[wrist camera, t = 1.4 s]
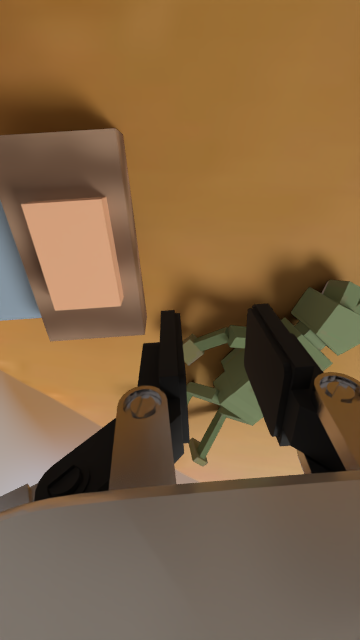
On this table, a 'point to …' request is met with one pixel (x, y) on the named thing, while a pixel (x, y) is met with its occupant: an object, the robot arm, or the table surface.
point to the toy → (312, 331)
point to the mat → (13, 278)
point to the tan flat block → (76, 252)
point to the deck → (72, 183)
